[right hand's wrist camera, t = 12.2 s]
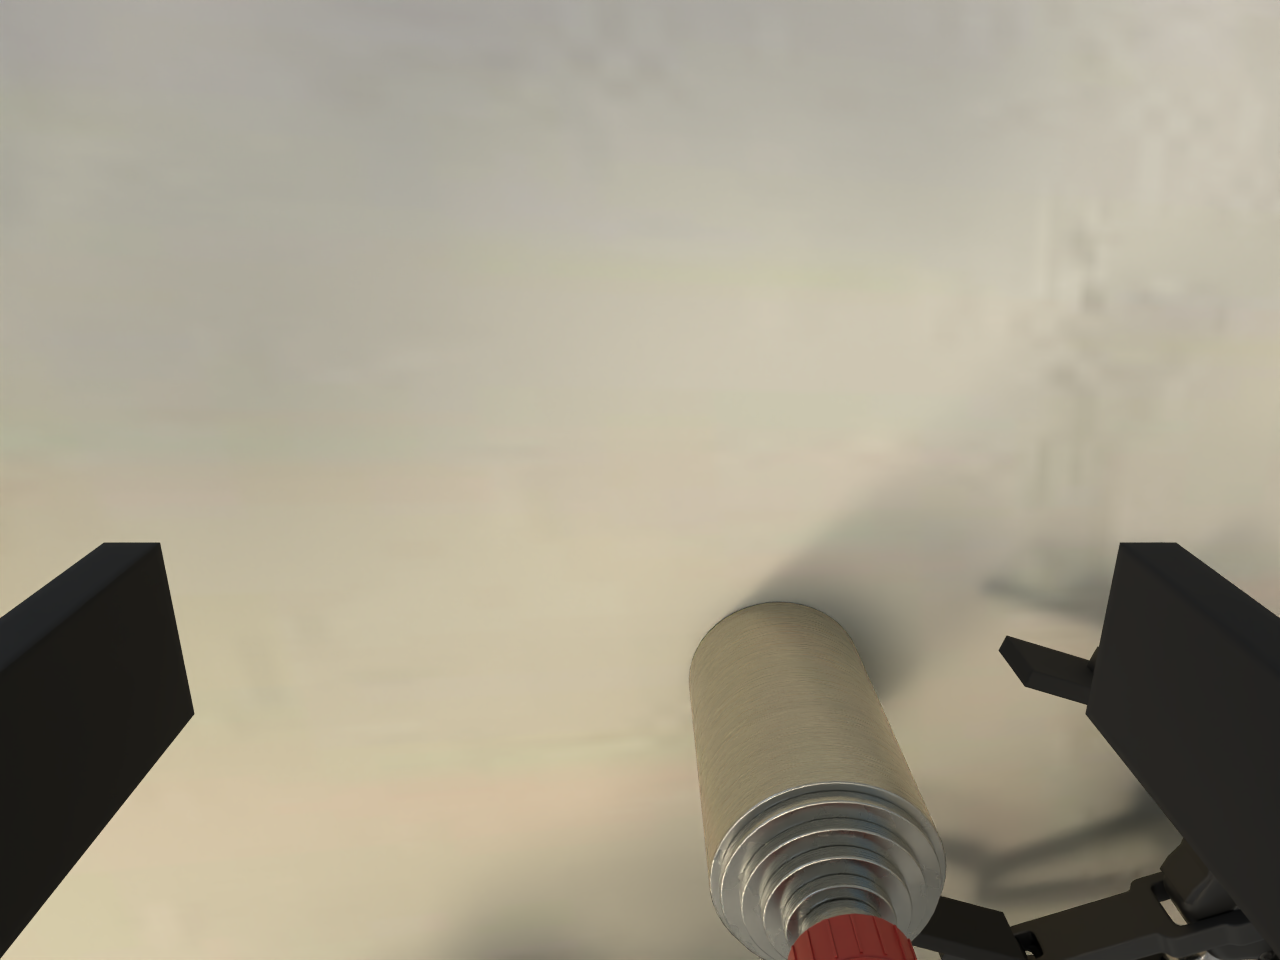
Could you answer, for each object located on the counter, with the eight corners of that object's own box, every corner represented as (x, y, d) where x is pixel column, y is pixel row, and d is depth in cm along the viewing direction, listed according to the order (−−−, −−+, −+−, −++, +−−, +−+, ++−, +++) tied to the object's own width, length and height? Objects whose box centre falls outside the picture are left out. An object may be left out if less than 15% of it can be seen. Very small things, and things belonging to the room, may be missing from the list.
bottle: (873, 729, 45) (1015, 1073, 28) (710, 764, 45) (754, 1121, 29) (843, 583, 42) (981, 869, 25) (670, 624, 42) (693, 928, 26)
